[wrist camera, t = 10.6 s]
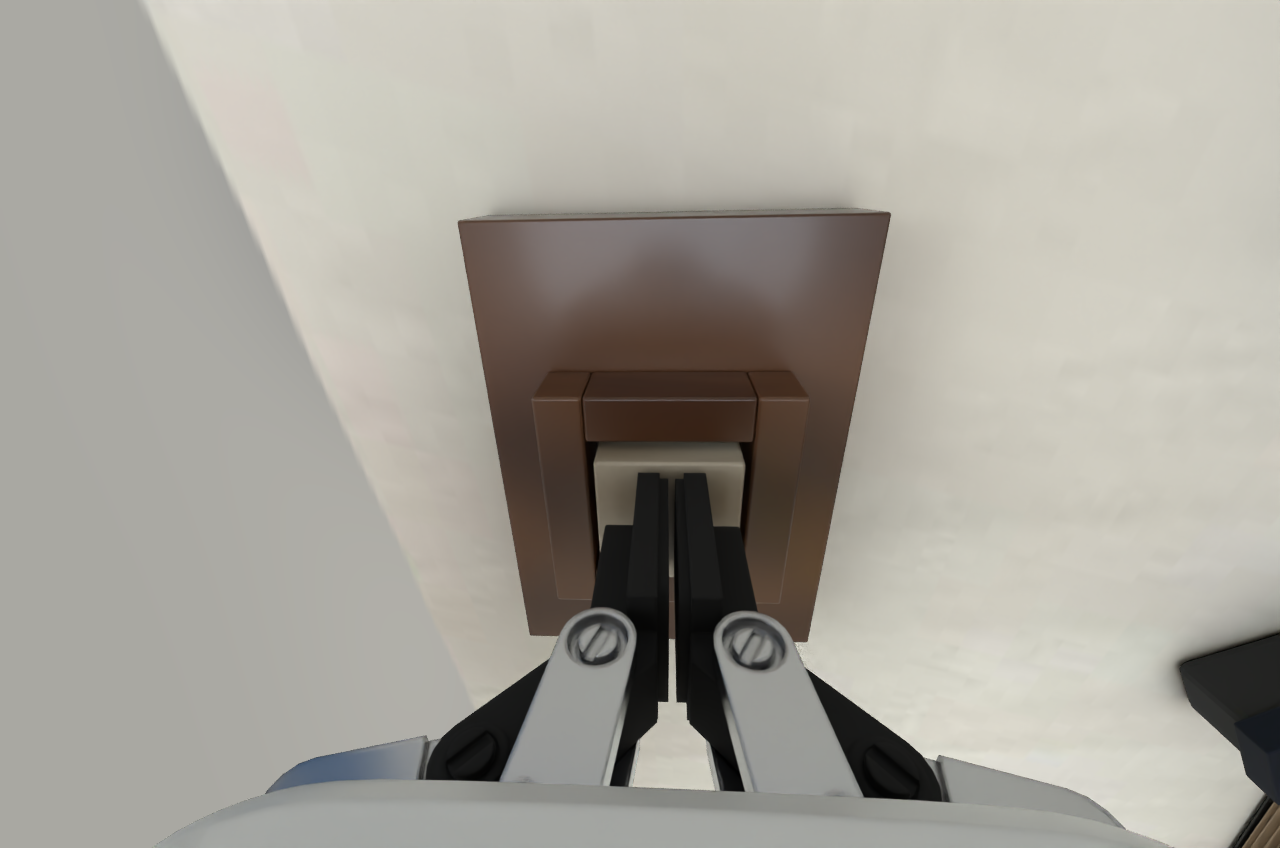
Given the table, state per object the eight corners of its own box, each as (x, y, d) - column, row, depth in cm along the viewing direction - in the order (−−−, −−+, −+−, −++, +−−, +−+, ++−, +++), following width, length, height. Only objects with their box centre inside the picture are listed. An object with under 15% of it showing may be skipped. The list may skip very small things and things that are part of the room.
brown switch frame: (793, 595, 19) (823, 691, 15) (543, 590, 19) (516, 681, 16) (857, 207, 13) (932, 217, 9) (487, 215, 13) (421, 226, 10)
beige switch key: (727, 536, 14) (735, 579, 13) (607, 534, 15) (601, 577, 13) (736, 429, 13) (746, 463, 11) (601, 429, 13) (592, 462, 11)
